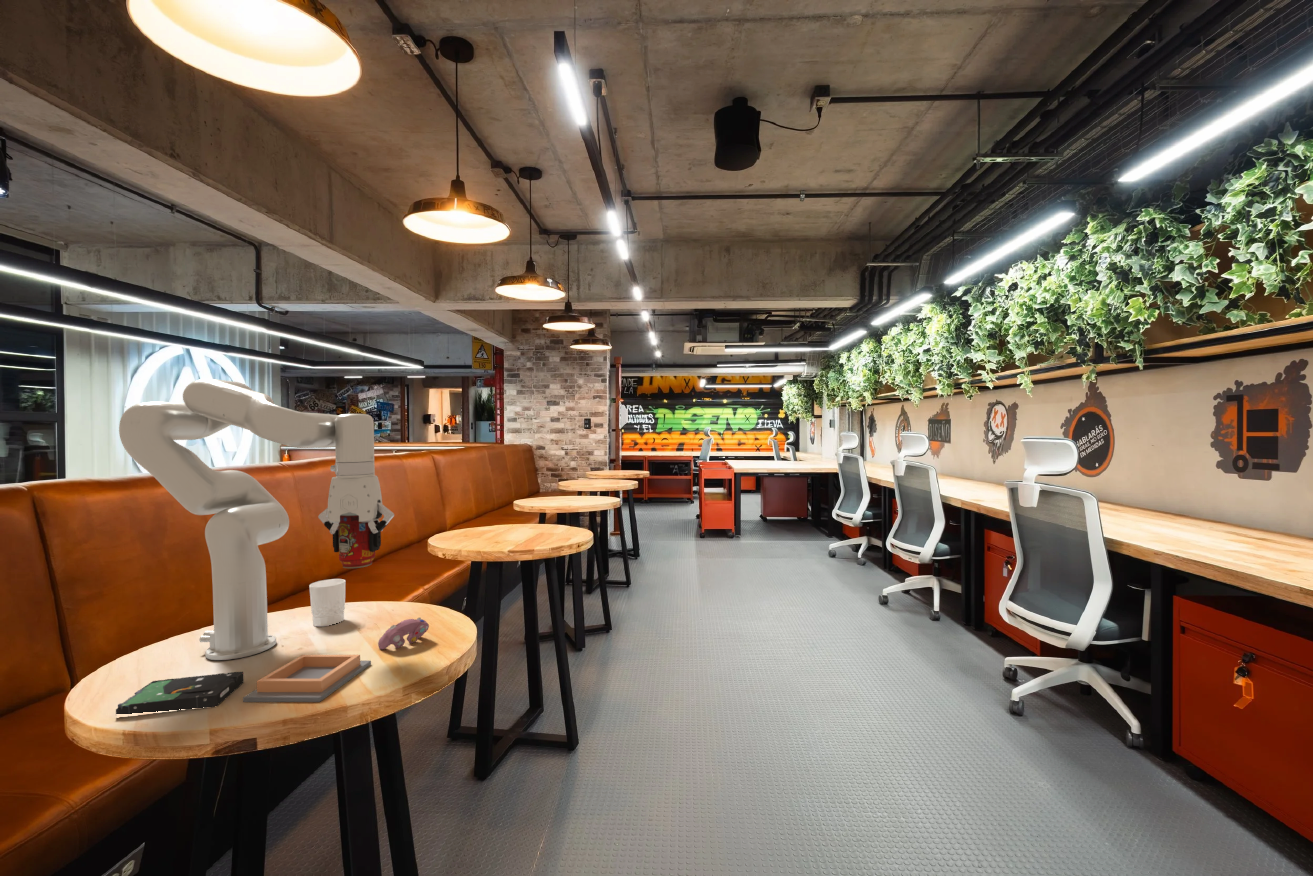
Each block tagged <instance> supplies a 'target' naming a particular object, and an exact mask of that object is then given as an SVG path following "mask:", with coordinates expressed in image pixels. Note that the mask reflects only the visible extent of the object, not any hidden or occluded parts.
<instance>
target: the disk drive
mask: <svg viewBox="0 0 1313 876" xmlns="http://www.w3.org/2000/svg"><path fill="white" fill-rule="evenodd" d="M244 677H245V676H244V671H231V672H227V673H226V672H223V673H216V674H215V673H214V674H207V675H204V674H203V675H193V676H186V677H180V678H179V677H178V678H177V677H176V678H167V679H161V680H160V679H158V680H152V681H151V682H150V683H148V684H147V685H145V686H143V687H142V688H140V689H139V690H137V691H136V692H134V695H132V696H130V697H128V698H127V699H126V700H125V701H123V702H122V703H120V702H119V703H118V704H117V708H116V709H115V715H116V714H132V713H143V712H156V711H157V712H158V711H169V710H179V709H180V710H181V709H192V708H203V707H211V708H216V707H215V706H217V707H218V706H219V705H221V703H222V702H224V701H225V700H226V699H227V698H228V697H229V696H230V695H232V694H233V693H234V692H235V691H236V690H237V689H238V688H239V687H241V685H243V684H244V680H245V679H244ZM225 698H226V699H225ZM203 709H204V708H203Z"/></svg>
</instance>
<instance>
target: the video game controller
mask: <svg viewBox="0 0 1313 876" xmlns="http://www.w3.org/2000/svg"><path fill="white" fill-rule="evenodd" d="M429 628H430V625H429V623H428V622H427V621H426V620H424V619H422V618H421V617H417V619H415V618H407V619H404V620H401V621H400V622H398V623H396V624H393V625H391V626H390V627H389V628H388V629H387V630H386V631H385V632H384V634H383V635H382V636H381V637H379V640H378V642H377V645H378V649H380V650H386V649H387V648H388V647H389V646H391V645H393V647H395V648H396V649H398V648H401V646H402V647H403V646H404V645H405V644H406V641H408V643H409V644H411V643H412V644H414V643H413V642H415V643H416V642H417V641H418V640H419V638H422V636H424V634H425V633H427V632H428V630H429ZM405 636H406V639H405Z"/></svg>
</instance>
